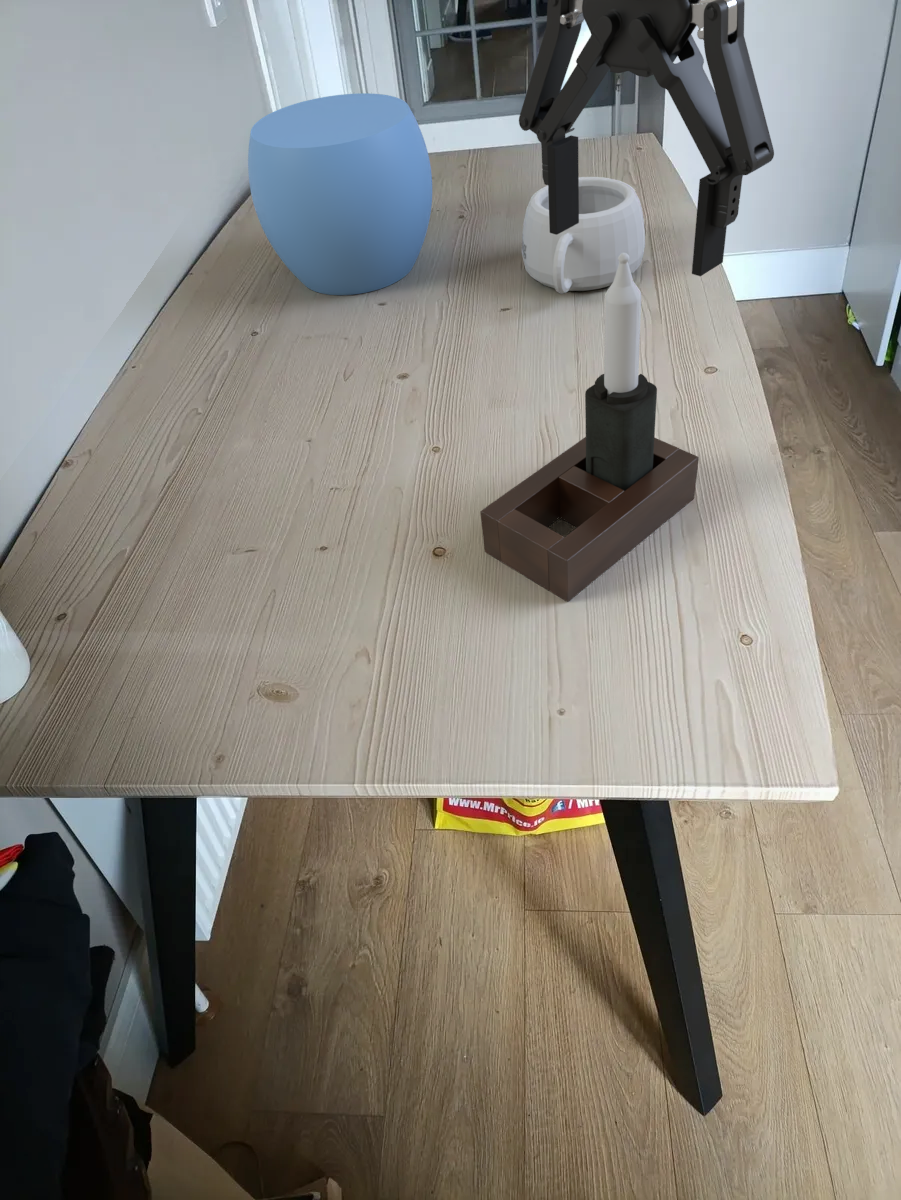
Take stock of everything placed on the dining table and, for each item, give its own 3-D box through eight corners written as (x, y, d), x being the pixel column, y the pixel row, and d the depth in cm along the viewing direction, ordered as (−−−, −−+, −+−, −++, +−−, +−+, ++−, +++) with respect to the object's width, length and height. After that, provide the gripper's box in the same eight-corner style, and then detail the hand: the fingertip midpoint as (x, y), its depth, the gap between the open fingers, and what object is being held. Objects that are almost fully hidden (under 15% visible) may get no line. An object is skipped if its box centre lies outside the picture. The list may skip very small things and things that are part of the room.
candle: (656, 501, 86) (671, 248, 68) (621, 527, 83) (628, 273, 66) (615, 481, 89) (620, 234, 71) (581, 505, 86) (577, 257, 69)
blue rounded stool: (429, 304, 120) (408, 145, 105) (255, 312, 124) (211, 160, 109) (450, 227, 137) (434, 82, 123) (296, 237, 141) (264, 97, 127)
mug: (541, 240, 130) (539, 169, 123) (655, 245, 125) (659, 172, 118) (496, 309, 117) (490, 234, 110) (621, 319, 111) (624, 241, 104)
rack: (694, 498, 85) (699, 456, 82) (567, 602, 77) (566, 561, 74) (610, 459, 91) (611, 418, 88) (484, 551, 83) (480, 511, 80)
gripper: (877, -120, 47) (807, 267, 62) (532, -115, 61) (543, 198, 76) (799, -92, 44) (746, 309, 58) (455, -94, 58) (482, 229, 73)
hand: (631, 247), depth 67 cm, fingers open, 13 cm apart
